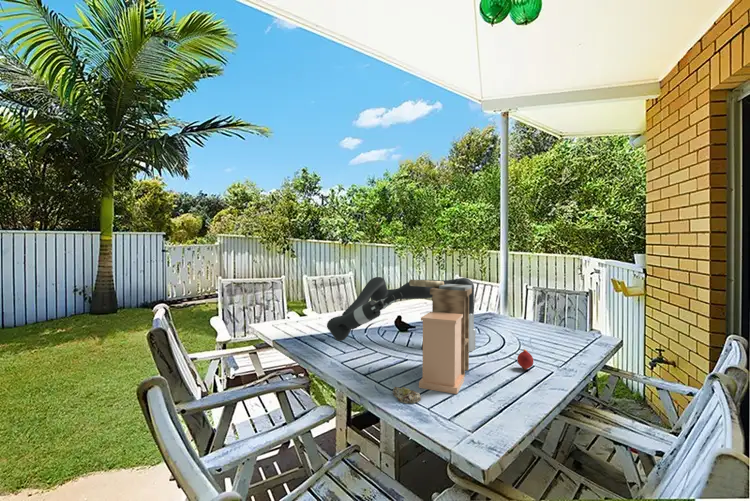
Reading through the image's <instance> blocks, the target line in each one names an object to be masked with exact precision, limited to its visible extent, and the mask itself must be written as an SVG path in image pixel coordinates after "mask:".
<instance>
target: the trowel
mask: <svg viewBox="0 0 750 501" xmlns="http://www.w3.org/2000/svg"><path fill="white" fill-rule="evenodd" d="M429 280H430V279H409V281H408V282H409V285H410V286H421V287H437V288H439V289H445V290H460V291H466V290H468V289H471V288H472V285H460V284H444V281H429Z"/></svg>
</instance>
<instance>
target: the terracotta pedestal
mask: <svg viewBox="0 0 750 501" xmlns="http://www.w3.org/2000/svg"><path fill="white" fill-rule="evenodd" d="M462 317H463V314H454V313H441V312H432V311H429V312H428V313H426V314H424V315H422V316H421V317H420V321H421V322H422V377H421V379H420V380H419V381H418V388H419V389H424V390H432V391H436V392H441V393H449V394H455V395H458V394H459V392H460V390H461V387H462V385H463V384H464V382H465V377H464V375H461V318H462Z"/></svg>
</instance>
